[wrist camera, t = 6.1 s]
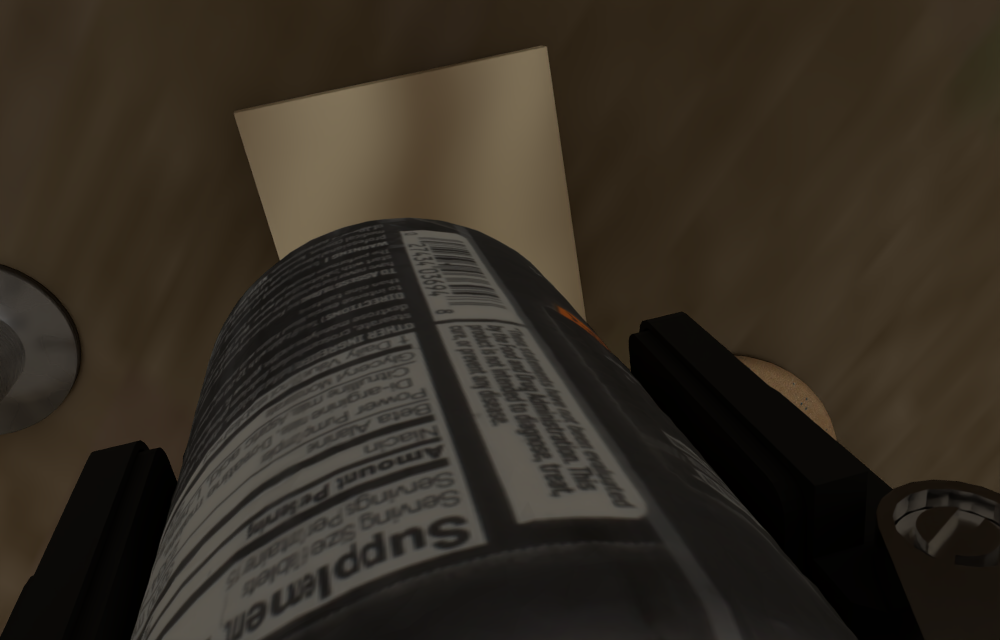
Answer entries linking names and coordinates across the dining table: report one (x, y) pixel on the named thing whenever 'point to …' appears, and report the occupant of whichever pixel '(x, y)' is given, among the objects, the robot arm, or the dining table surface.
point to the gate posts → (33, 351)
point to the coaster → (423, 159)
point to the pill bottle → (448, 469)
